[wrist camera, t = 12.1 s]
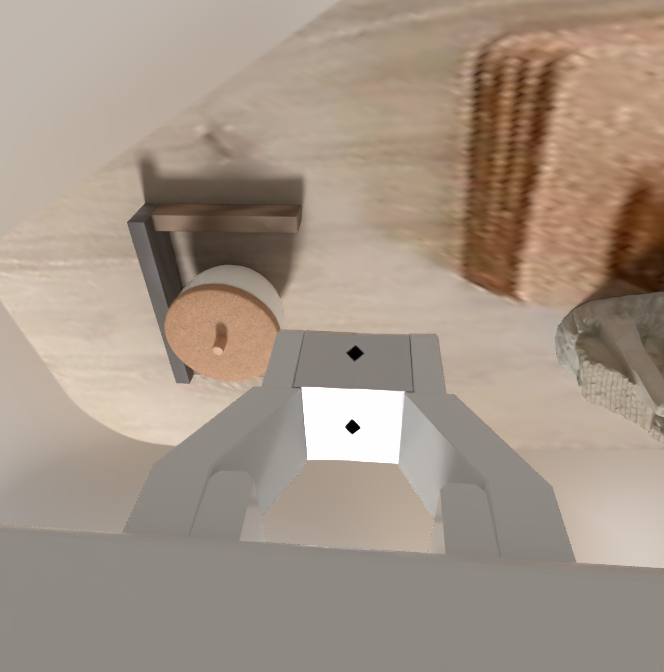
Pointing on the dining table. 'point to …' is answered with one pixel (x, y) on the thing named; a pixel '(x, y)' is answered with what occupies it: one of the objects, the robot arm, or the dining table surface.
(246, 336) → the lidded jar
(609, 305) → the ceramic cottage
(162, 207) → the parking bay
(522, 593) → the robot arm
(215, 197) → the dining table surface
